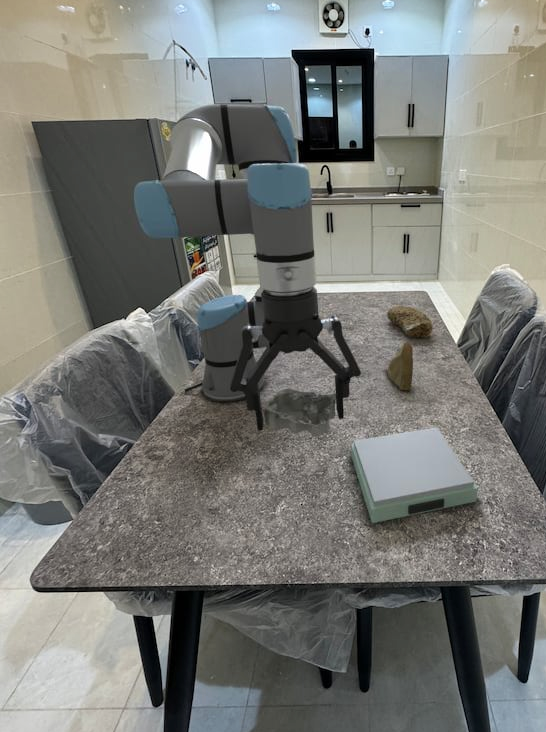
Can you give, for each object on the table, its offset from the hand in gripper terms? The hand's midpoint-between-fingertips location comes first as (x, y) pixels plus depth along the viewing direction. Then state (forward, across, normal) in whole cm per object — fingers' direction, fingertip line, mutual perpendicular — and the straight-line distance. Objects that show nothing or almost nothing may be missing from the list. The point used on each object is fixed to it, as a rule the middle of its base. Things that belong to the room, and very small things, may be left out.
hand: (301, 419), depth 61 cm
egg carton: (0, 0, 0) cm, 0 cm away
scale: (+15, +18, -1) cm, 24 cm away
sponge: (+16, +41, +65) cm, 79 cm away
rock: (+16, +27, +32) cm, 45 cm away
